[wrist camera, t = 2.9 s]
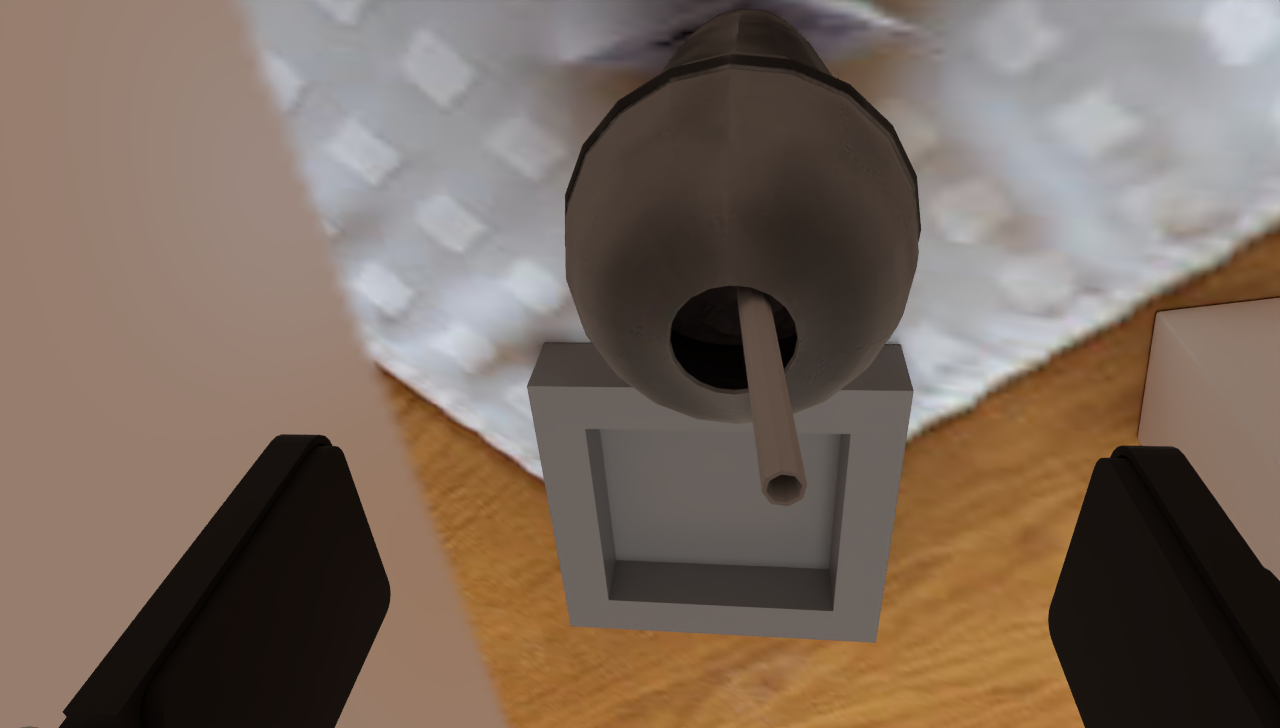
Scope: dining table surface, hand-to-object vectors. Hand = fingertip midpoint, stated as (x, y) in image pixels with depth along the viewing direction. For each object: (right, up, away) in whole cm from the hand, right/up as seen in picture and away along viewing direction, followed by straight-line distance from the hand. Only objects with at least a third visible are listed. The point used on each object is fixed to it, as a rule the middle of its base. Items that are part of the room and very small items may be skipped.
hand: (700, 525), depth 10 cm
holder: (+3, -3, +25) cm, 25 cm away
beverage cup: (+3, +11, +16) cm, 20 cm away
